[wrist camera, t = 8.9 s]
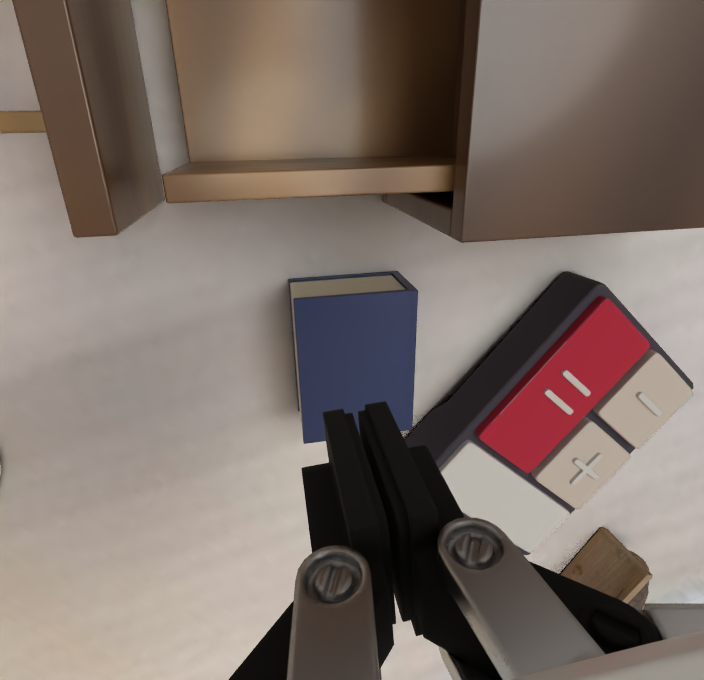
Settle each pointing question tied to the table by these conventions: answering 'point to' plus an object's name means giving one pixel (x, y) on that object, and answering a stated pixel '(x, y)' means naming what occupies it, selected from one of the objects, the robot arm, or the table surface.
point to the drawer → (246, 101)
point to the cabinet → (575, 121)
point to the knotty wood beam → (611, 569)
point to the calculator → (553, 411)
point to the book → (353, 346)
